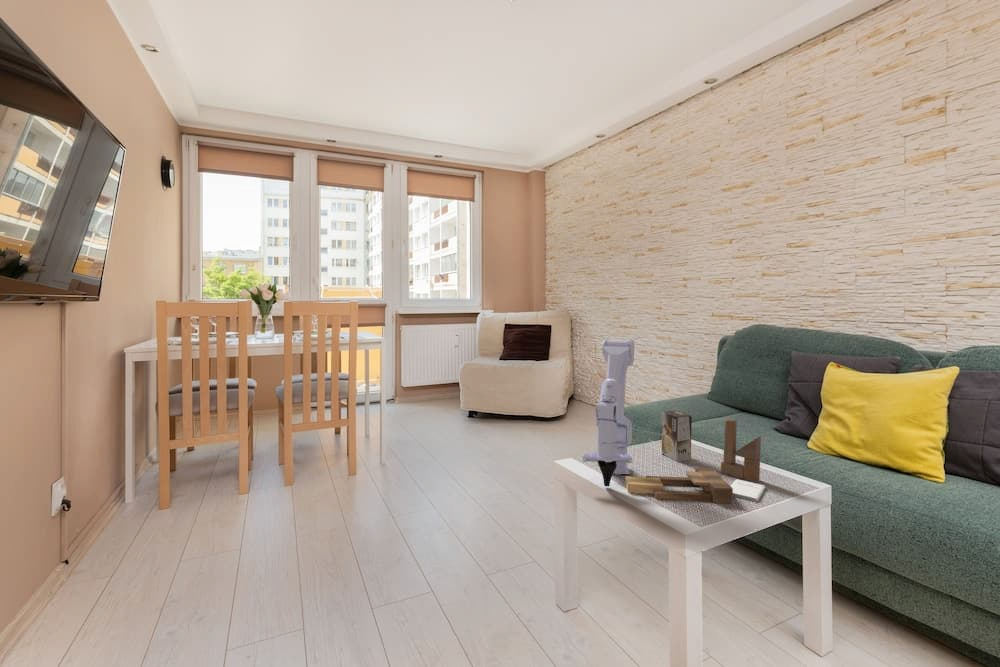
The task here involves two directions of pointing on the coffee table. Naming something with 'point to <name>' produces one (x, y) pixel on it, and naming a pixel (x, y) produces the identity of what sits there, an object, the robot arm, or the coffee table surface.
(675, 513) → the coffee table surface
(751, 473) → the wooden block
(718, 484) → the walnut dock
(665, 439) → the coffee box
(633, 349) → the robot arm
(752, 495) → the external hard drive
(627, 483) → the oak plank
